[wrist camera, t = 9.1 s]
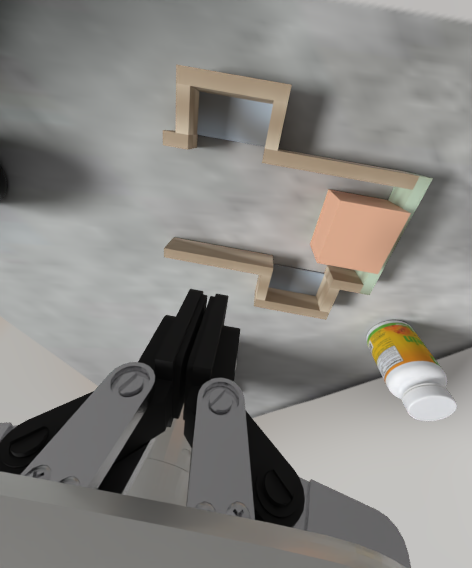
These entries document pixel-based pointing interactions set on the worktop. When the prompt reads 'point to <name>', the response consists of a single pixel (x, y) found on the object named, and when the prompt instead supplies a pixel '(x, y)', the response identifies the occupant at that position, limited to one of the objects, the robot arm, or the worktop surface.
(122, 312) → the worktop surface
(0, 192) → the supplement bottle
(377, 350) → the supplement bottle
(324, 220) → the terracotta block
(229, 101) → the trap lane
